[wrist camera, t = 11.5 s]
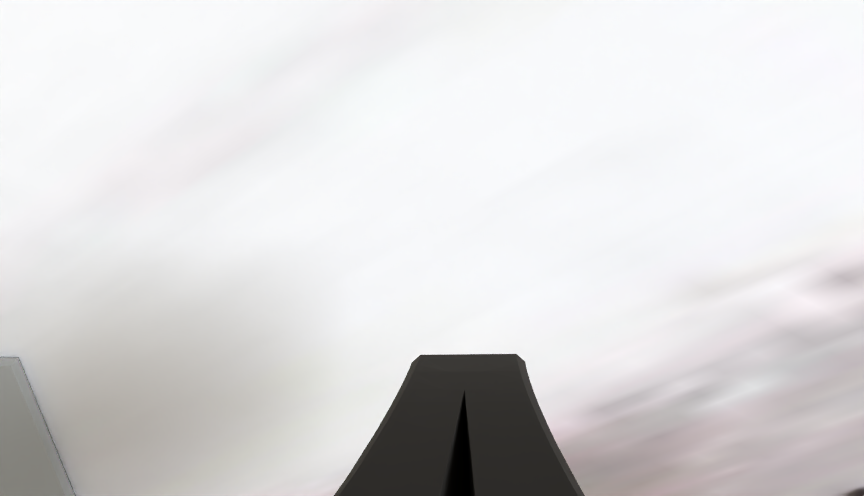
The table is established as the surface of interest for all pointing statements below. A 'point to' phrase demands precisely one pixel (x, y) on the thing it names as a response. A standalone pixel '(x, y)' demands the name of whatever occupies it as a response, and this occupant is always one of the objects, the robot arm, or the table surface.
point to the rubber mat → (26, 440)
